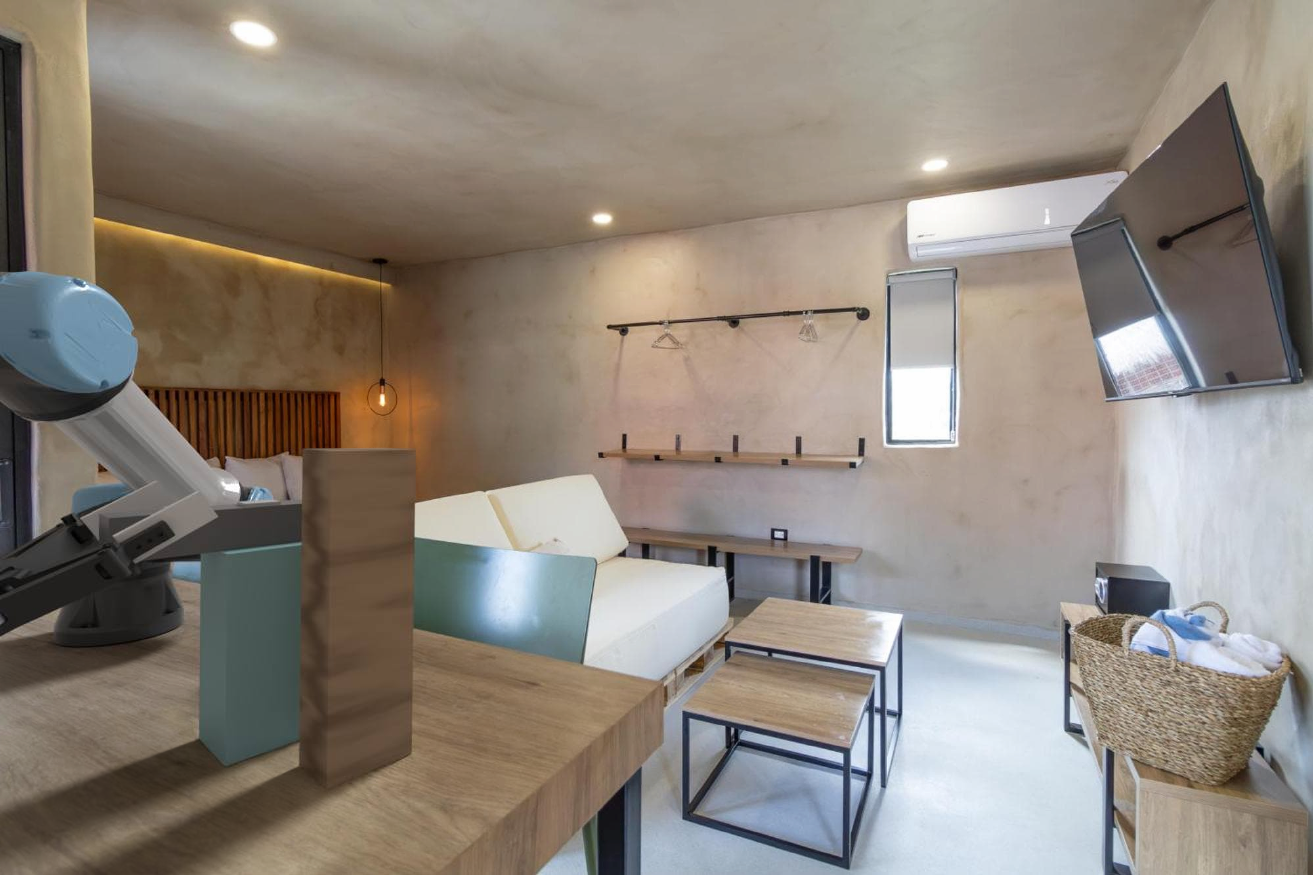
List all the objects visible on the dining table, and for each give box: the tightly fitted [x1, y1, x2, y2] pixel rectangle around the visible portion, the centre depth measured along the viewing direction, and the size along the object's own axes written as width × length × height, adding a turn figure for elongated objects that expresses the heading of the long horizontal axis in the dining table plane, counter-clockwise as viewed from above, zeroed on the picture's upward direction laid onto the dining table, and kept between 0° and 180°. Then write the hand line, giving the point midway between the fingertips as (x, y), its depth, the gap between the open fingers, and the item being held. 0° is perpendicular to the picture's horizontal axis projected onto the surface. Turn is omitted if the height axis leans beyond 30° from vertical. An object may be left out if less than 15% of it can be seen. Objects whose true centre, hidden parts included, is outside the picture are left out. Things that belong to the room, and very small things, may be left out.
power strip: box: [99, 498, 302, 561], centre depth 62 cm, size 4×22×4 cm, turn 141°
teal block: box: [198, 542, 302, 767], centre depth 64 cm, size 8×10×20 cm
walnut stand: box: [298, 447, 417, 790], centre depth 59 cm, size 6×8×30 cm
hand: (185, 497), depth 58 cm, fingers open, 13 cm apart
